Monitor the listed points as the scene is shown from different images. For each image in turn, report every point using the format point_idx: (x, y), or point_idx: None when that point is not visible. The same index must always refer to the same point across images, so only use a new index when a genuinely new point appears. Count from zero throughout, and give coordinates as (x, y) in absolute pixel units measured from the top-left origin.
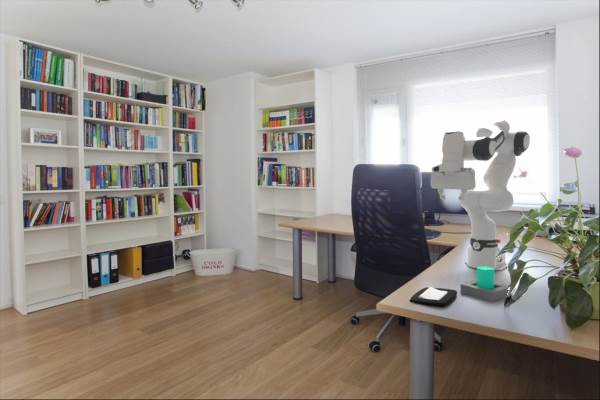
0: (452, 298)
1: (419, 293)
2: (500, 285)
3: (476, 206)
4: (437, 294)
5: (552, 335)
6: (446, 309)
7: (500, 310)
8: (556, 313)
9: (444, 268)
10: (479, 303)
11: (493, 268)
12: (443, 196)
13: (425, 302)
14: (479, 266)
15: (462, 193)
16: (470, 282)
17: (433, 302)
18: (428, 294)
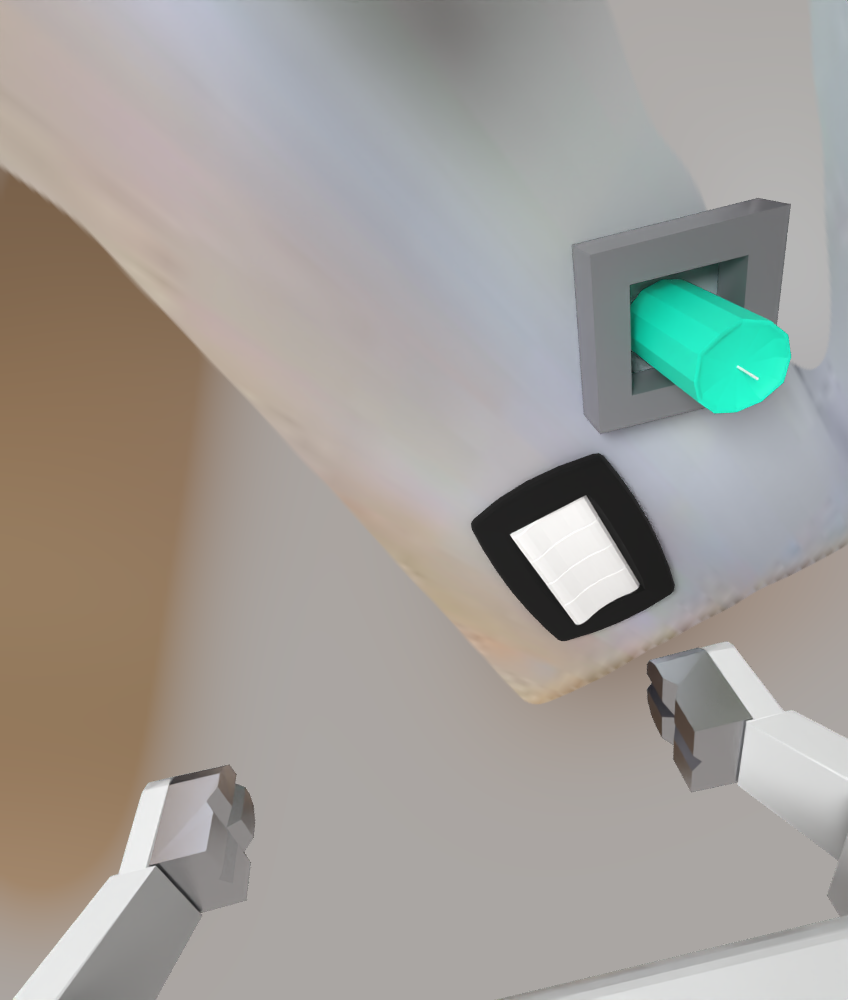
0: (651, 528)
1: (534, 592)
2: (737, 250)
3: None
4: (585, 548)
5: None
6: (678, 576)
7: (805, 417)
8: None
9: (90, 106)
10: (715, 435)
11: (780, 336)
12: (239, 851)
13: (619, 621)
14: (698, 378)
15: (840, 845)
16: (610, 369)
17: (643, 609)
18: (574, 583)
